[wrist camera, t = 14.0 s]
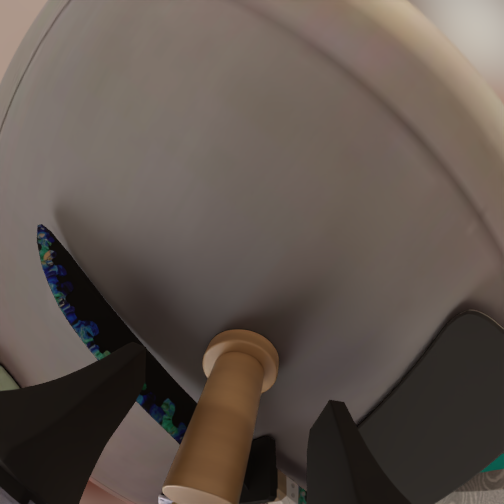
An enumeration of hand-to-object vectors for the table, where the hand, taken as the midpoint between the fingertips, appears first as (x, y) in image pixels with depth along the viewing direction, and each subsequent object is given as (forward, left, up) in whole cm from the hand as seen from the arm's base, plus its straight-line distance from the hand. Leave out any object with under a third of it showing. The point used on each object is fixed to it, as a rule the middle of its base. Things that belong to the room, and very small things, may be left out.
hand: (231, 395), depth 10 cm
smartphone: (-10, -9, 0) cm, 14 cm away
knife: (-6, 0, -4) cm, 7 cm away
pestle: (-1, 0, -4) cm, 4 cm away
